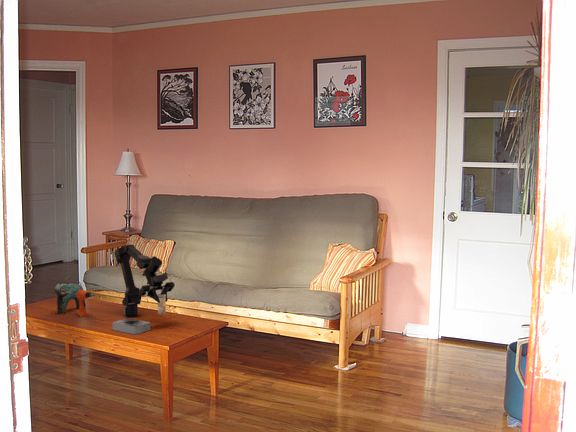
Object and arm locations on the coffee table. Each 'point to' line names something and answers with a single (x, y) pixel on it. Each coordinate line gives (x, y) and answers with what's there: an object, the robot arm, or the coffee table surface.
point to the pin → (162, 304)
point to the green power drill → (66, 295)
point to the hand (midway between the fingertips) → (163, 301)
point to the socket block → (131, 326)
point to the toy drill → (83, 302)
